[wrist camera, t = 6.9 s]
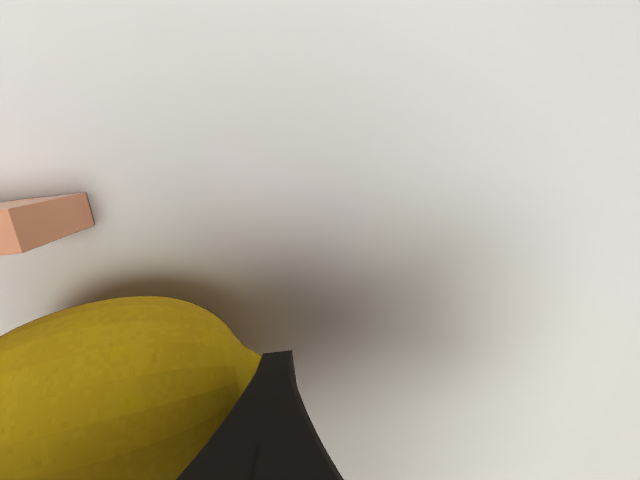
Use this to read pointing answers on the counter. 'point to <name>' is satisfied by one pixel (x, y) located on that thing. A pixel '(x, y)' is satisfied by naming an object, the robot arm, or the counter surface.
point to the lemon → (116, 389)
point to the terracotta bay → (41, 221)
